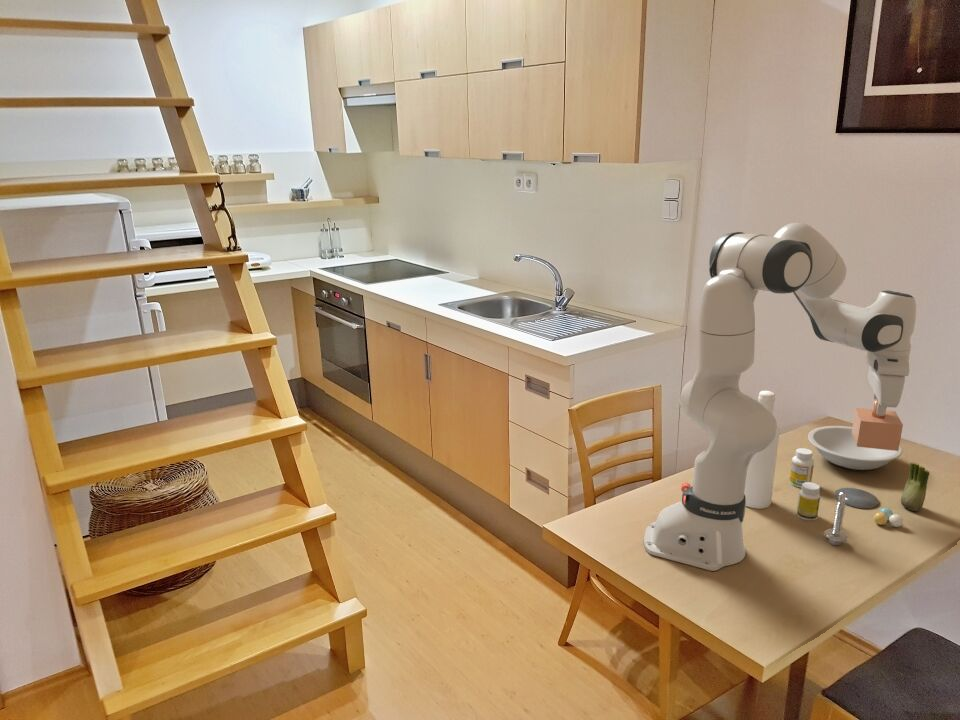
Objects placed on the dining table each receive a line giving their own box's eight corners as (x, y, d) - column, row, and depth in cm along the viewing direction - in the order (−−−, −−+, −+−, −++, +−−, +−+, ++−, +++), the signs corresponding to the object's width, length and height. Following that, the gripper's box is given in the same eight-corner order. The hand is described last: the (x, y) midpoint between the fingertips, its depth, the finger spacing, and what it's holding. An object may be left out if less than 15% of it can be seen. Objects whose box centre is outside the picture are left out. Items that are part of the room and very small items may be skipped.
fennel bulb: (924, 515, 176) (933, 471, 173) (902, 512, 178) (910, 468, 174) (919, 504, 182) (927, 461, 178) (897, 501, 183) (905, 458, 179)
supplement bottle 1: (800, 477, 196) (805, 445, 193) (815, 486, 191) (820, 453, 188) (784, 481, 194) (789, 448, 192) (799, 489, 190) (803, 456, 187)
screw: (822, 545, 164) (823, 534, 168) (846, 550, 162) (846, 539, 166) (830, 494, 160) (831, 485, 164) (854, 499, 158) (854, 490, 162)
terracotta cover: (856, 446, 174) (863, 405, 171) (851, 432, 182) (857, 392, 179) (898, 451, 171) (905, 409, 168) (891, 436, 179) (898, 396, 176)
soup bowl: (797, 468, 202) (799, 447, 200) (814, 439, 220) (816, 419, 218) (893, 490, 189) (897, 468, 187) (902, 457, 207) (906, 436, 205)
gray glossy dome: (837, 505, 181) (837, 503, 181) (832, 487, 190) (832, 485, 190) (881, 511, 178) (881, 509, 178) (874, 492, 187) (874, 490, 187)
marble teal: (879, 521, 174) (881, 510, 173) (876, 515, 176) (878, 504, 176) (892, 523, 173) (894, 512, 172) (890, 517, 176) (892, 506, 175)
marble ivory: (889, 528, 171) (891, 517, 170) (886, 522, 173) (888, 511, 172) (903, 530, 170) (905, 519, 169) (900, 524, 172) (902, 513, 172)
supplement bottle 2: (819, 521, 174) (823, 491, 171) (798, 520, 175) (802, 489, 172) (814, 512, 178) (818, 482, 176) (794, 510, 179) (798, 480, 177)
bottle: (739, 507, 181) (751, 396, 172) (737, 492, 188) (748, 386, 179) (772, 510, 179) (786, 399, 170) (769, 496, 186) (782, 388, 177)
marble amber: (873, 526, 172) (875, 515, 171) (871, 520, 174) (873, 509, 173) (887, 528, 171) (889, 517, 170) (885, 521, 173) (887, 511, 173)
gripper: (865, 344, 180) (858, 395, 185) (879, 369, 162) (871, 425, 166) (893, 346, 178) (885, 398, 183) (911, 371, 160) (901, 428, 164)
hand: (878, 411), depth 174 cm, fingers closed on terracotta cover, 3 cm apart
